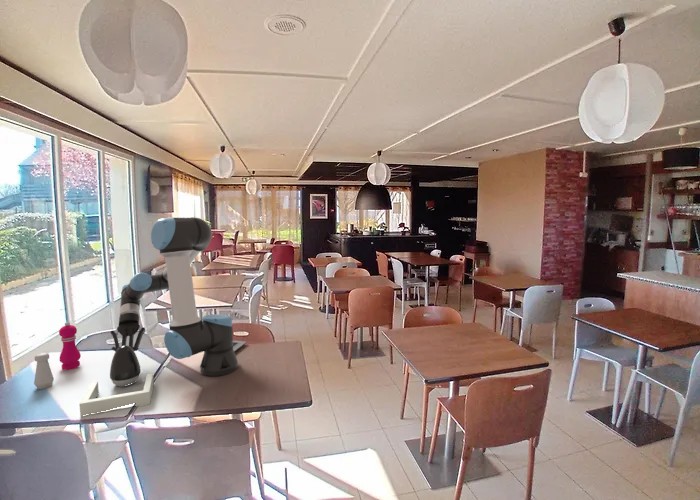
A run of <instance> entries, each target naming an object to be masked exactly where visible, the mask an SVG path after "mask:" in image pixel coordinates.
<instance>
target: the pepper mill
mask: <svg viewBox="0 0 700 500" xmlns="http://www.w3.org/2000/svg"><path fill="white" fill-rule="evenodd" d="M77 329H78V328H77V327H76V326H75V325H73V324H71V322H69V321H65V323H64V325H63V326H62V327H61V328H59V330H58V334H59V336H60V337H61V338H60V340H61V342H62V350H61V352H60V355H59V362H60V363H62V364H61V370H63V371H71V370H75V369H77V368H79V367H80V366H81V361H79V360H81V356H82V355H81V352H80V350H79V349H78V347H77V345H76V339H77V338H76V337H77V335H76V334H77V333H78V330H77Z"/></svg>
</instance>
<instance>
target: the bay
mask: <svg viewBox="0 0 700 500" xmlns="http://www.w3.org/2000/svg"><path fill="white" fill-rule="evenodd" d="M154 379H155V378H154V373H153V372H152V373H147V374H146V378H145V381H144V386H143V389H142V390H137V391H132V392H131V391H130V392H125V393H119V394H115V395H108V396H103V397H98V396H97V395H99V394H100V392H99V382H98V381H93V382H90V383H89V386H88V388H87V390H86V392H85V393H84V395H83V397H82V398H81V399H80V401H79V415H80V416H83V415H86V414H91V413H97V412H101V411H106V410H110V409H113V408H117V407H121V406H125V405H129V404H133V403H136V407H141V406H146V405H150V404H151V400H152V395H153V389H154V385H155V383H154ZM98 393H99V394H98ZM96 397H97V398H96ZM83 417H84V416H83Z"/></svg>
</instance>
